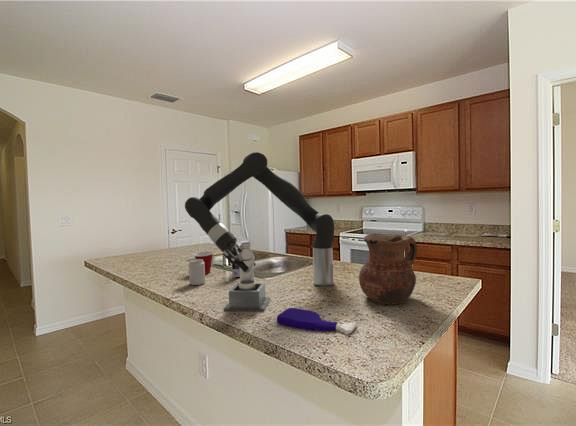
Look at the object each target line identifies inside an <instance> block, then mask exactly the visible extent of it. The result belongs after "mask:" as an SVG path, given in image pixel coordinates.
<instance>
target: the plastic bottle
mask: <svg viewBox="0 0 576 426" xmlns="http://www.w3.org/2000/svg"><path fill="white" fill-rule="evenodd" d="M241 248H242V250H241V251H240V253H239V254H240V258H241V260H242V261H243V262H244V263H245V264H246V265H247V266H248V268H249V269H248V270H247V271H246V272H244V271H243V270H242V269H241V268H240V267H239V268H240V278H239V282H238V283H239V291H255V289H256V286H255V283H256V282H255V275H254V274H255V273H254V268H255V266H254V262H255V253H254V252H253V251H252V249H251V248H252V244H251V242H250V243H249V242H245V243H241ZM242 261H241V262H242Z"/></svg>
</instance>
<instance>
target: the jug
mask: <svg viewBox="0 0 576 426" xmlns="http://www.w3.org/2000/svg"><path fill="white" fill-rule="evenodd" d="M363 240H364V242H365V244H366V246H367V248H368V255H369V256H368V260H367V261H366V262H365V263H364V264H363V265H362V266H361V268H360V271H359V274H358V275H359V276H358V281H359V285H360V289H361V291H362V292H363V294H364V295H365V297H367V298H368V299H370V300H371V301H373V302H374V303H377V304H380V305H381V304H382V305H397V304H402V303H404V302H406V301H407V300H408V299H409V298H410V297H411V295H413V291H414V289H415V287H416V283H417V278H416V276H417V275H416V274H415V272H414V270H413V266H412V265H413V264H414V262H415V259H416V257H417V255H418V245H417V242H416V240H415V239H414V238H413V237H412V236H409V235H406V234H401V235H399V234H389V235H388V234H383V233H381V234H380V233H371V234H368V235H367V234H366V235H365V236H364V237H363ZM408 245H409V252H408V255H406V257H405V251H406V249H407V247H408Z"/></svg>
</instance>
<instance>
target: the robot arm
mask: <svg viewBox="0 0 576 426" xmlns="http://www.w3.org/2000/svg"><path fill="white" fill-rule="evenodd" d="M252 177H253V178H254V179H255V180H257V181H258V182H260V183H261V184H262V185H263V186H264V187H265V188H267V190H268V191H269V192H270V193H271V194H272V195H274V196H275V197H276V198H277V199H278V200H279V201H280V202H281V203H283V204H284V205H285V206H286V207H288V208H289V209H290V211H292V212H294V213H295V214H296V215H297V216H298V217H300V218H301V219H302V220H303V222H305V224H307V226H308V227H309V228H310V229H311V230H313V232H315V233H316V234H315V240H313V241H312V260H313V261H312V262H313V265H312V266H313V270H312V271H313V284H314V285H317V286H322V287H323V286H325V287H326V286H330V285H331V286H332V285H334V263H333V259H334V257H333V243H334V240H335V221H334V218H333V217H332V216H331V215H330V214H327V213H321V212H318V211H317V210H316V209H314V208H313V207H312V206H311V205H310V204H309V203H308V200H307V199H306V197H305V196H304V195H303V193H302V192H301V191H300V190H299V188H297V187H296V186H295V185H294V184H293V183H291V182H290V181H288V180H287V179H285V178H283V177H282V176H280V175H279V174H276V173H274V172H273V171H272V169H270V168H269V167H268V158H267V157H266V155H265V154H264V153H262V152H260V151H255V152H251V153H249V154H247V155H246V156H245V157H244V158H243V161H242V163H241V164H240V165H239V166H238V167H237V168H235V169H234V170H233V171H231V172H230V173H228V174H225V175H224V176H223V177H222V178H220V179H218V180H217V181H215V182H214V183H212V184H211V185H210V186H209V187H207V188H206V189H205V190H204V192H203V195H202V196H200V198H198V197H195V196H193V197H189V198H188V199H186V201H185V202H184V209H185V211H186V213H187V214H188V215H189V217H191V218H192V219H194V220H195V222H197V224H198V225H199V226H200V228H201V229H202V231H204V232H205V234H206V235H207V236H208V238H209V239H210V240H211V241H212V243H214V245H216V247H217V248H218V249H219V250H220V252H222V255H223V256H224V258H226V260H228V261H229V263H231V265H232V264H233V265H235V264H236V265H238V266H239V267H240V268H241V269H242V270H243V271H244V272H246V271H247V270H248V269H249V268H248V266H247V265H246V264H245V263H244V262H243V261H242V260H241V258H240V254H239V253H240V251H241V250H242V248H241V246H239V245H237V244H236V243H237V241H238V238H237V237H236V236H235V235H234V233H232V231H230V230H229V228H228V227H227V226H225V225H224V224H223V223H222V221H220V220H219V218H217V217H216V216H215V215H214V214H213V213H212V212H211V210H212V208H214V206H215V205H216V204H218V203H219V202H220V201H221V200H223V199H224V198H225V197H227V196H229V194H230V193H232V192H233V191H234V190H235V189H237V188H238V187H239V186H240V185H242V184H243V183H245V182H246V181H247V180H249V179H251V178H252ZM241 261H242V262H241ZM256 265H257V263H256V262H255V261H254V267H255V266H256Z"/></svg>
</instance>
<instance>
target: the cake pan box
mask: <svg viewBox="0 0 576 426" xmlns="http://www.w3.org/2000/svg"><path fill="white" fill-rule="evenodd" d="M245 242H249V243H251V240H241V241H239V242H236V244H237V245H239V246H241V243H245ZM231 273H232V274H231V275H232V277H240V268H239V266H238V265H236V264H235V265H233V264H232V263H231Z"/></svg>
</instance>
